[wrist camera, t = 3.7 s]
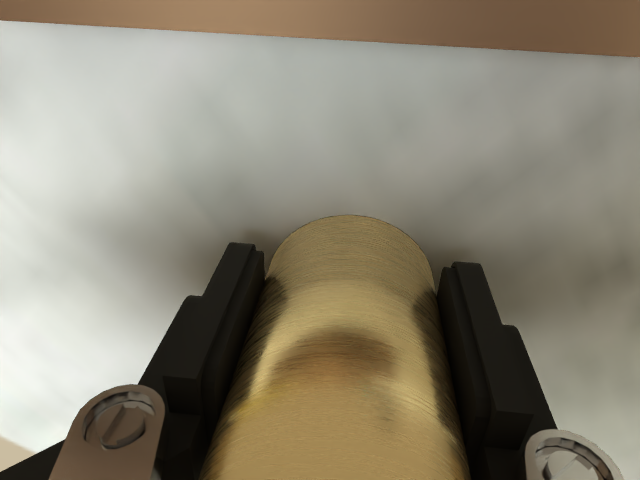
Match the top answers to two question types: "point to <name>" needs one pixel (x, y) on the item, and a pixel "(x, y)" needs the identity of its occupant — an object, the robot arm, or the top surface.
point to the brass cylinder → (342, 366)
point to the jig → (370, 20)
